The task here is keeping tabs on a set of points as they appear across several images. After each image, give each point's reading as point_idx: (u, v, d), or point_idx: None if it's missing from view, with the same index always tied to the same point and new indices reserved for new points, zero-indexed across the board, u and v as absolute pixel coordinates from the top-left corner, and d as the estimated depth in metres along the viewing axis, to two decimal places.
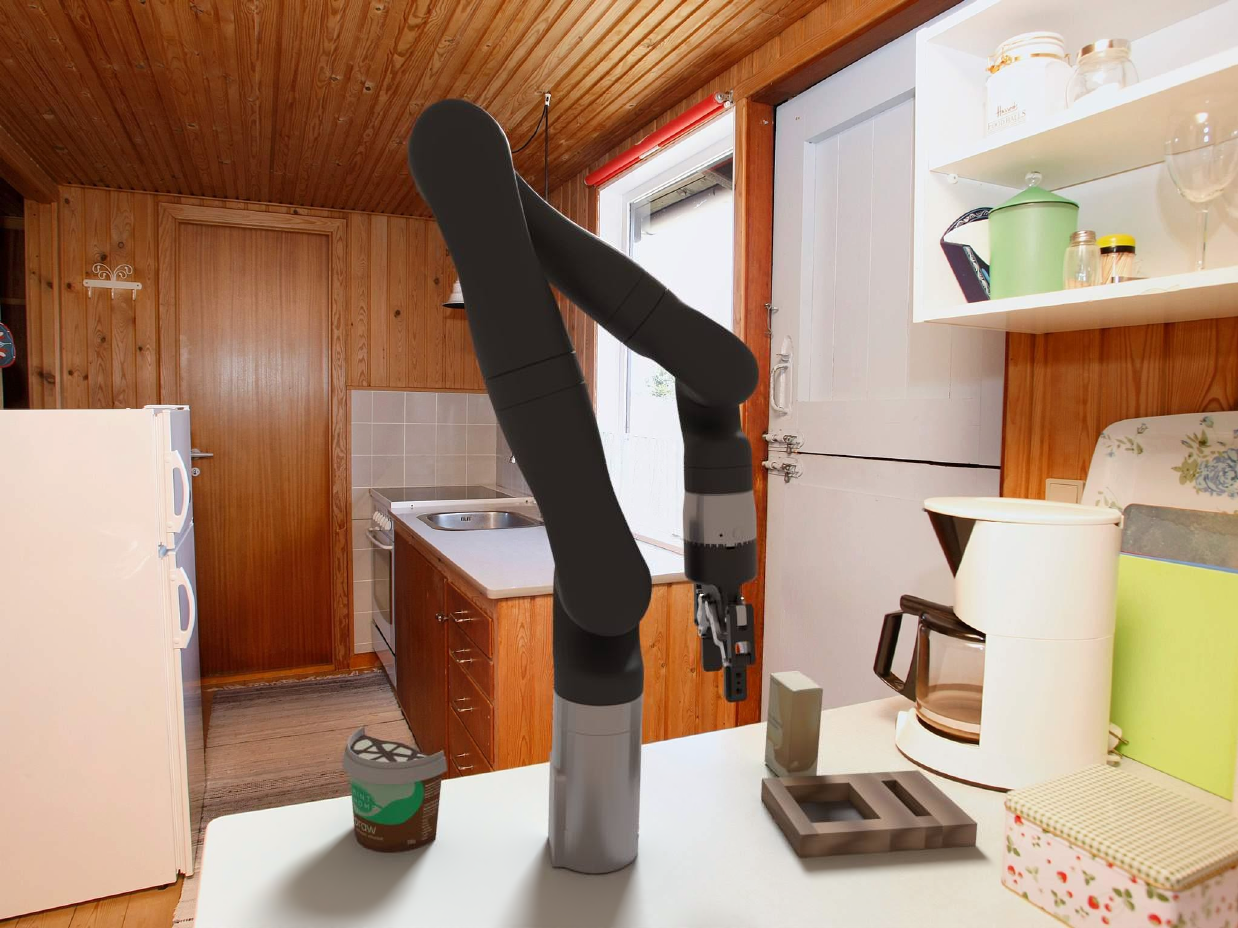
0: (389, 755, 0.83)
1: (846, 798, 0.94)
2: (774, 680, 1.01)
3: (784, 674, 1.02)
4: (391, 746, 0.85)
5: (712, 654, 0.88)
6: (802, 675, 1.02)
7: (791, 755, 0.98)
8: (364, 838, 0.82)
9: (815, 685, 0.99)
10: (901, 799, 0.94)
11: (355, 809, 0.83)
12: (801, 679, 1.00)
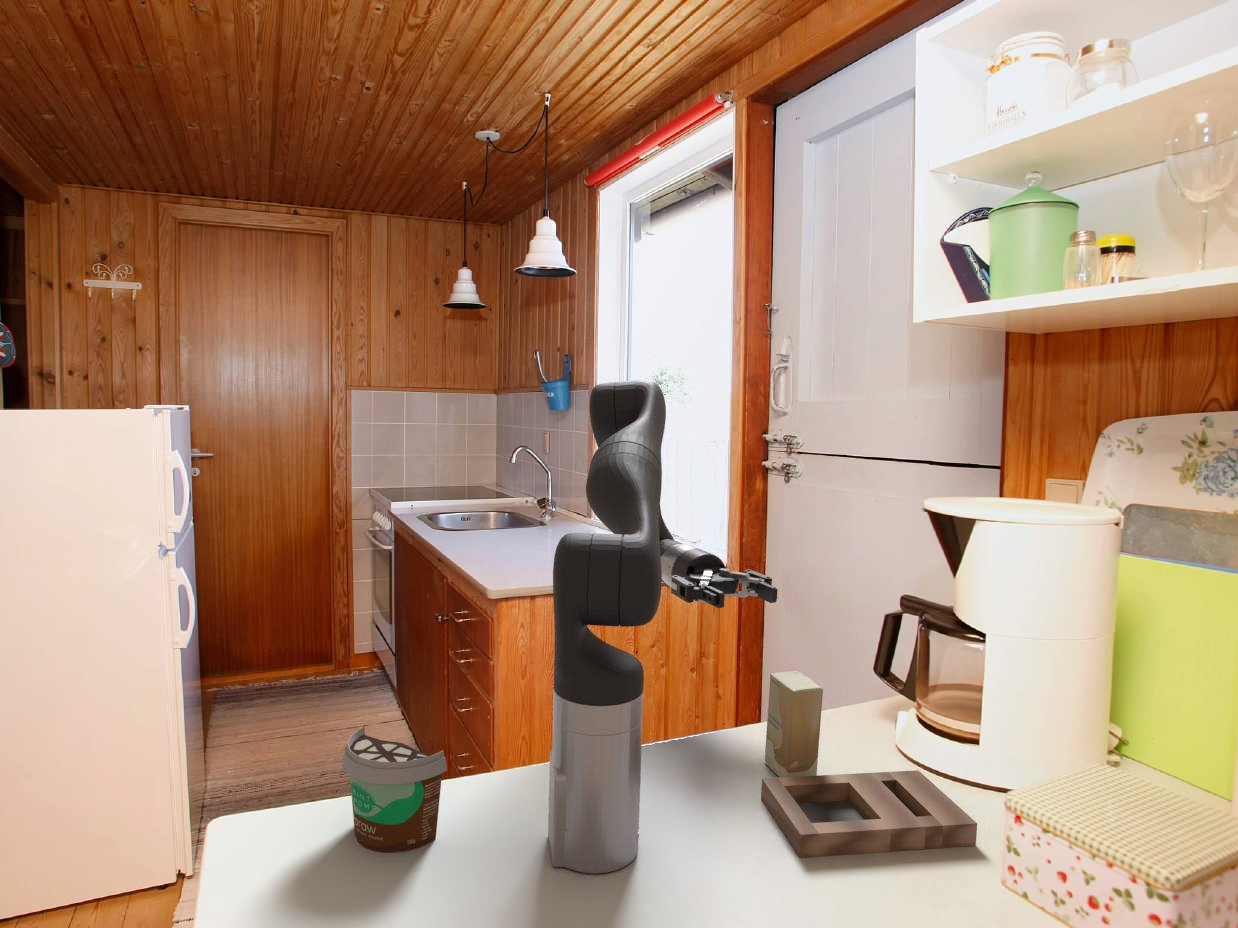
0: (389, 755, 0.83)
1: (846, 798, 0.94)
2: (774, 680, 1.01)
3: (784, 674, 1.02)
4: (391, 746, 0.85)
5: None
6: (802, 675, 1.02)
7: (792, 755, 0.98)
8: (364, 838, 0.82)
9: (815, 685, 0.99)
10: (901, 799, 0.94)
11: (355, 809, 0.83)
12: (801, 679, 1.00)
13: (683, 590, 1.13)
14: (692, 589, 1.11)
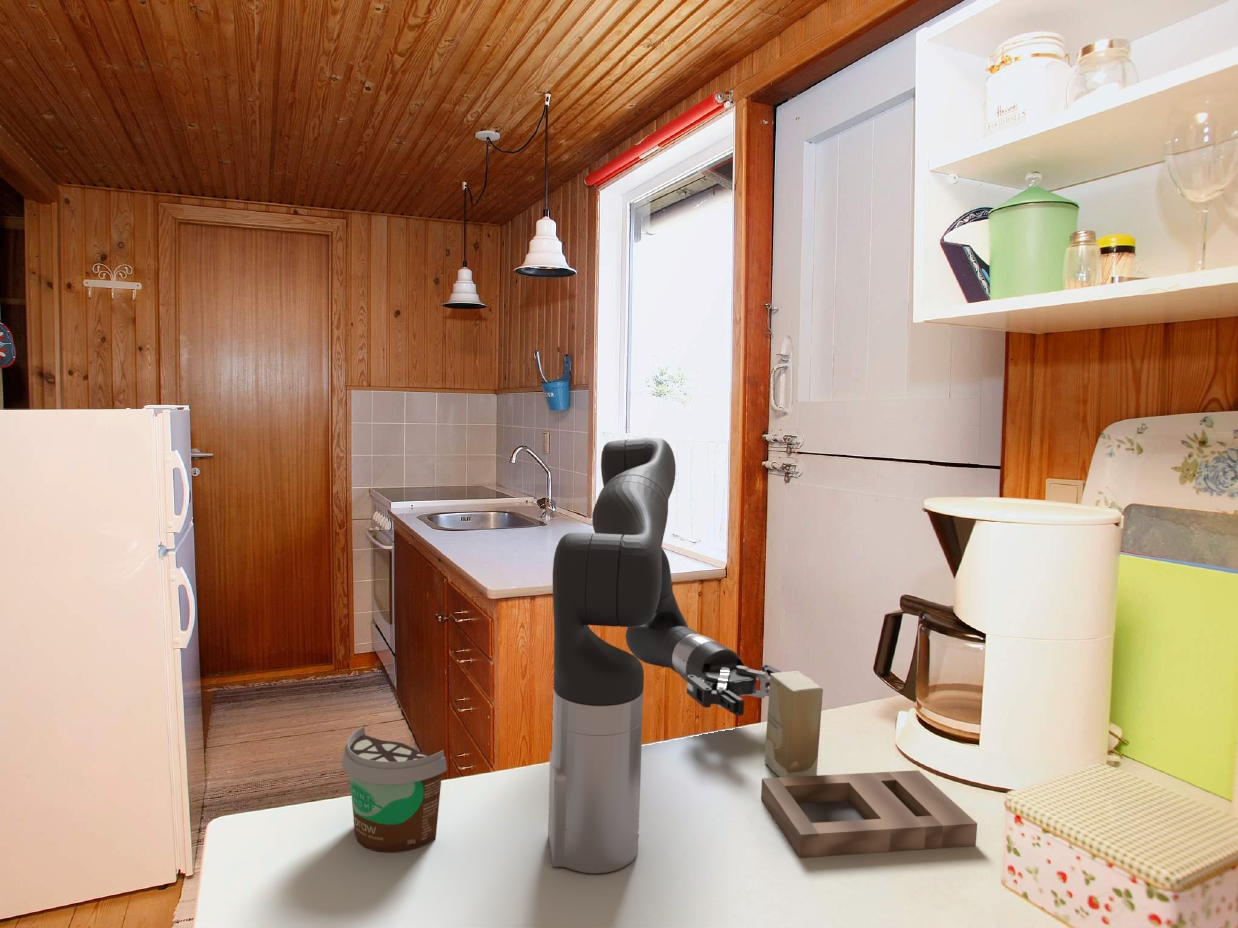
0: (389, 755, 0.83)
1: (846, 798, 0.94)
2: (774, 680, 1.01)
3: (784, 674, 1.02)
4: (391, 746, 0.85)
5: None
6: (802, 675, 1.02)
7: (792, 755, 0.98)
8: (364, 838, 0.82)
9: (815, 685, 0.99)
10: (901, 799, 0.94)
11: (355, 809, 0.83)
12: (801, 679, 1.00)
13: (700, 692, 1.09)
14: (710, 693, 1.07)
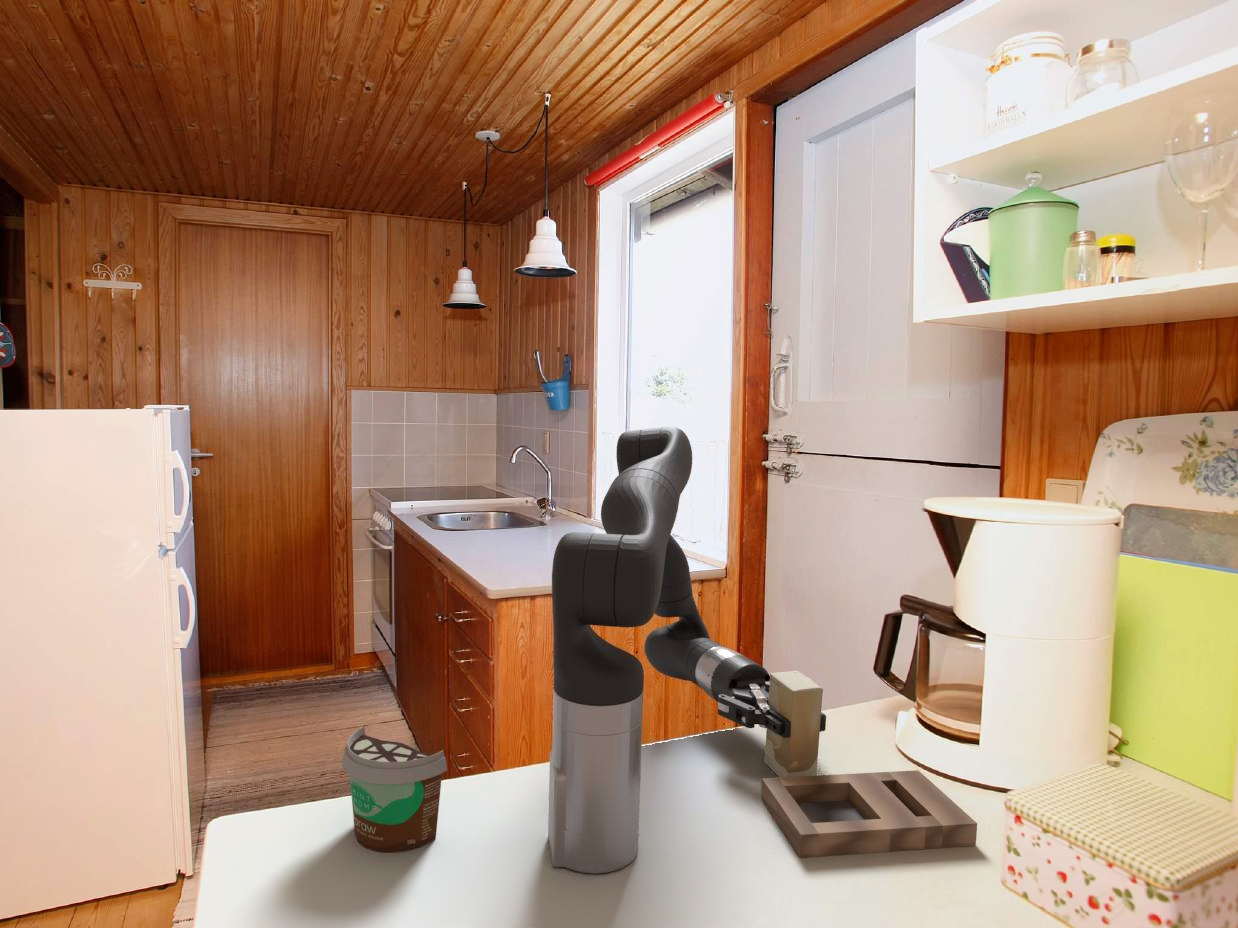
0: (389, 755, 0.83)
1: (846, 798, 0.94)
2: (774, 680, 1.01)
3: (784, 674, 1.02)
4: (391, 746, 0.85)
5: None
6: (802, 675, 1.02)
7: (791, 754, 0.98)
8: (364, 838, 0.82)
9: (815, 685, 0.99)
10: (901, 799, 0.94)
11: (355, 809, 0.83)
12: (801, 679, 1.00)
13: (738, 713, 1.02)
14: (753, 713, 1.00)
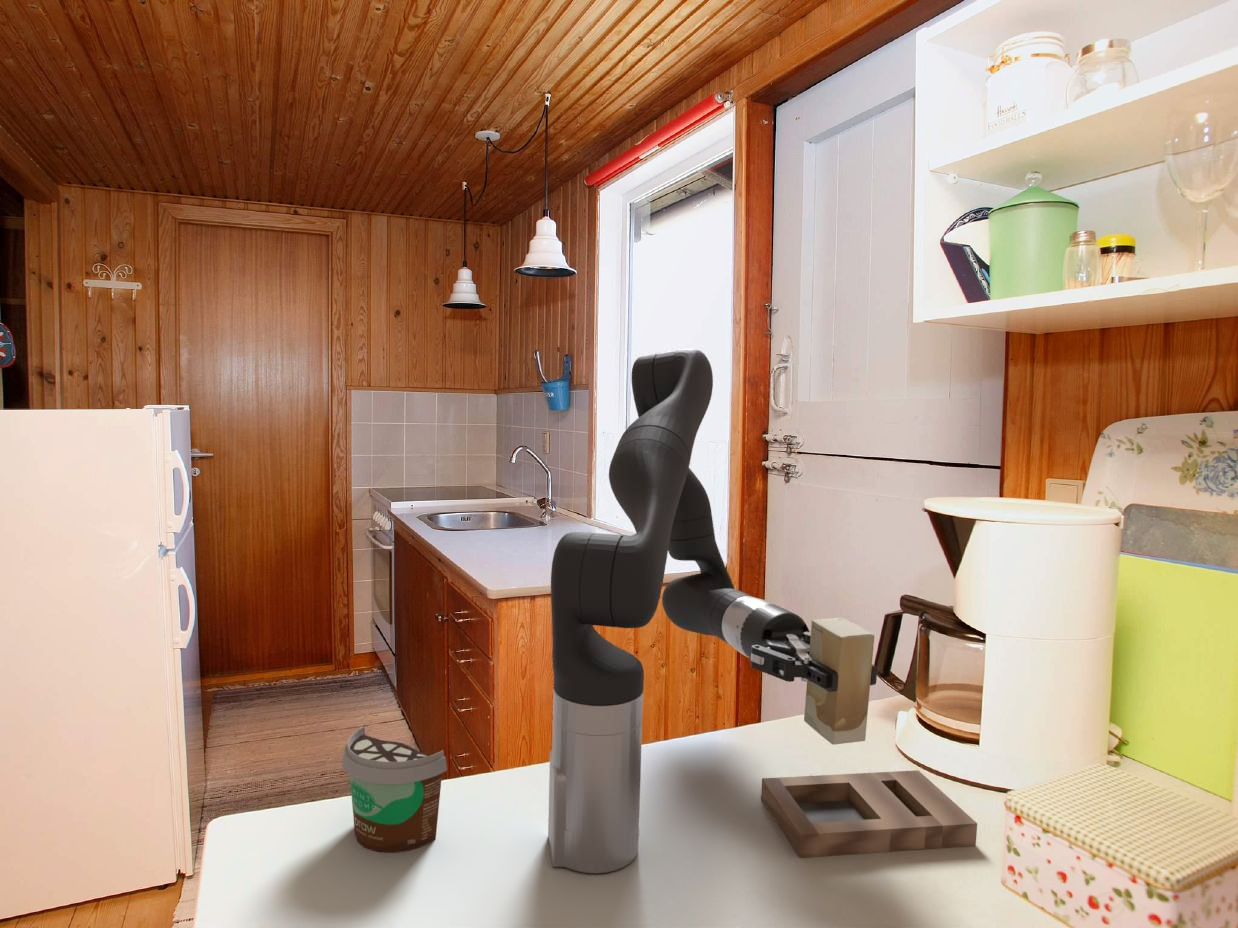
0: (389, 755, 0.83)
1: (846, 798, 0.94)
2: (817, 627, 0.88)
3: (828, 621, 0.89)
4: (391, 746, 0.85)
5: None
6: (848, 622, 0.89)
7: (838, 711, 0.85)
8: (364, 838, 0.82)
9: (865, 631, 0.86)
10: (901, 799, 0.94)
11: (355, 809, 0.83)
12: (848, 625, 0.87)
13: (775, 665, 0.90)
14: (793, 665, 0.87)
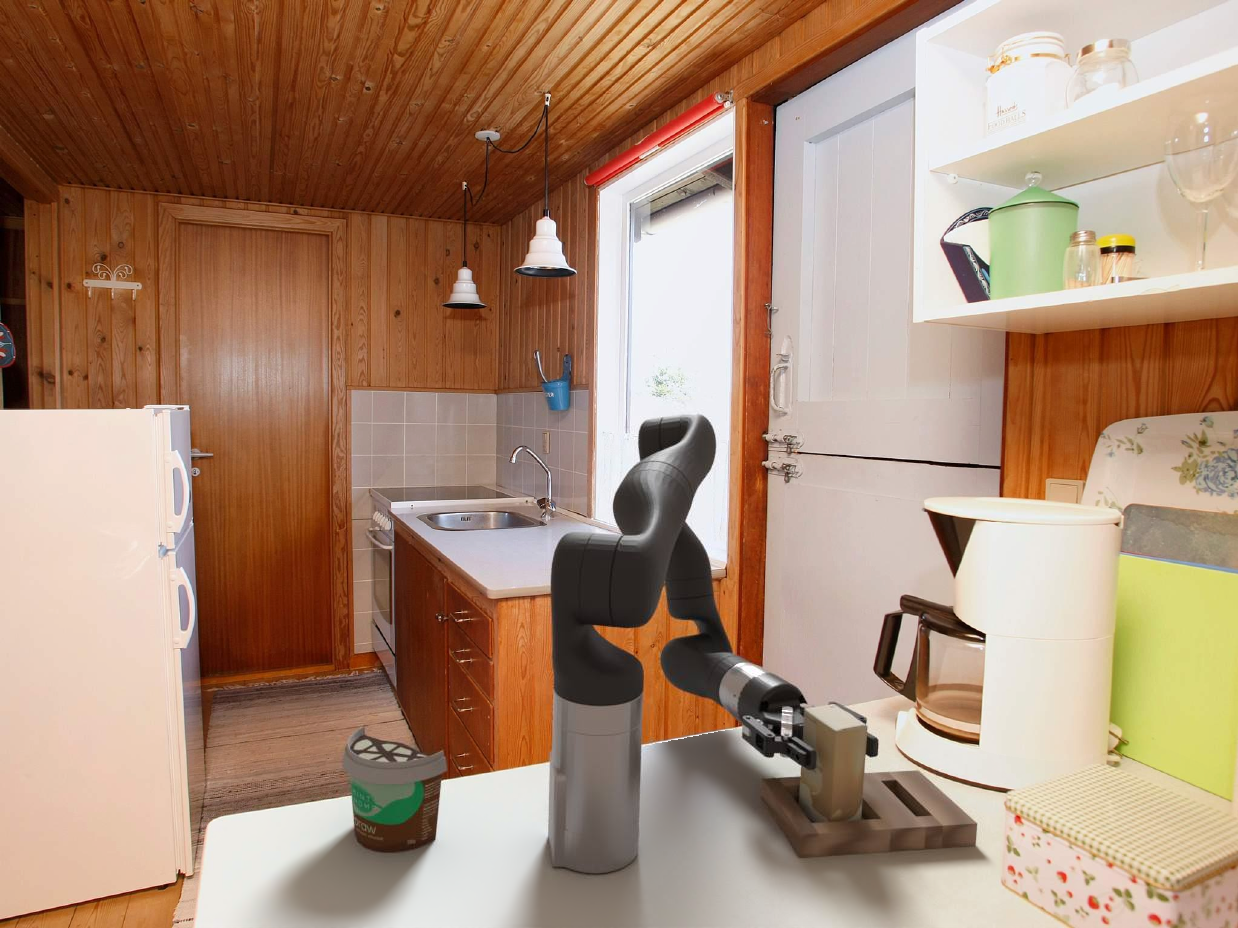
0: (389, 755, 0.83)
1: None
2: (810, 717, 0.89)
3: (820, 709, 0.90)
4: (391, 746, 0.85)
5: None
6: (840, 709, 0.90)
7: (834, 802, 0.86)
8: (364, 838, 0.82)
9: (858, 722, 0.87)
10: (901, 799, 0.94)
11: (355, 809, 0.83)
12: (841, 715, 0.88)
13: (759, 738, 0.91)
14: (773, 741, 0.88)
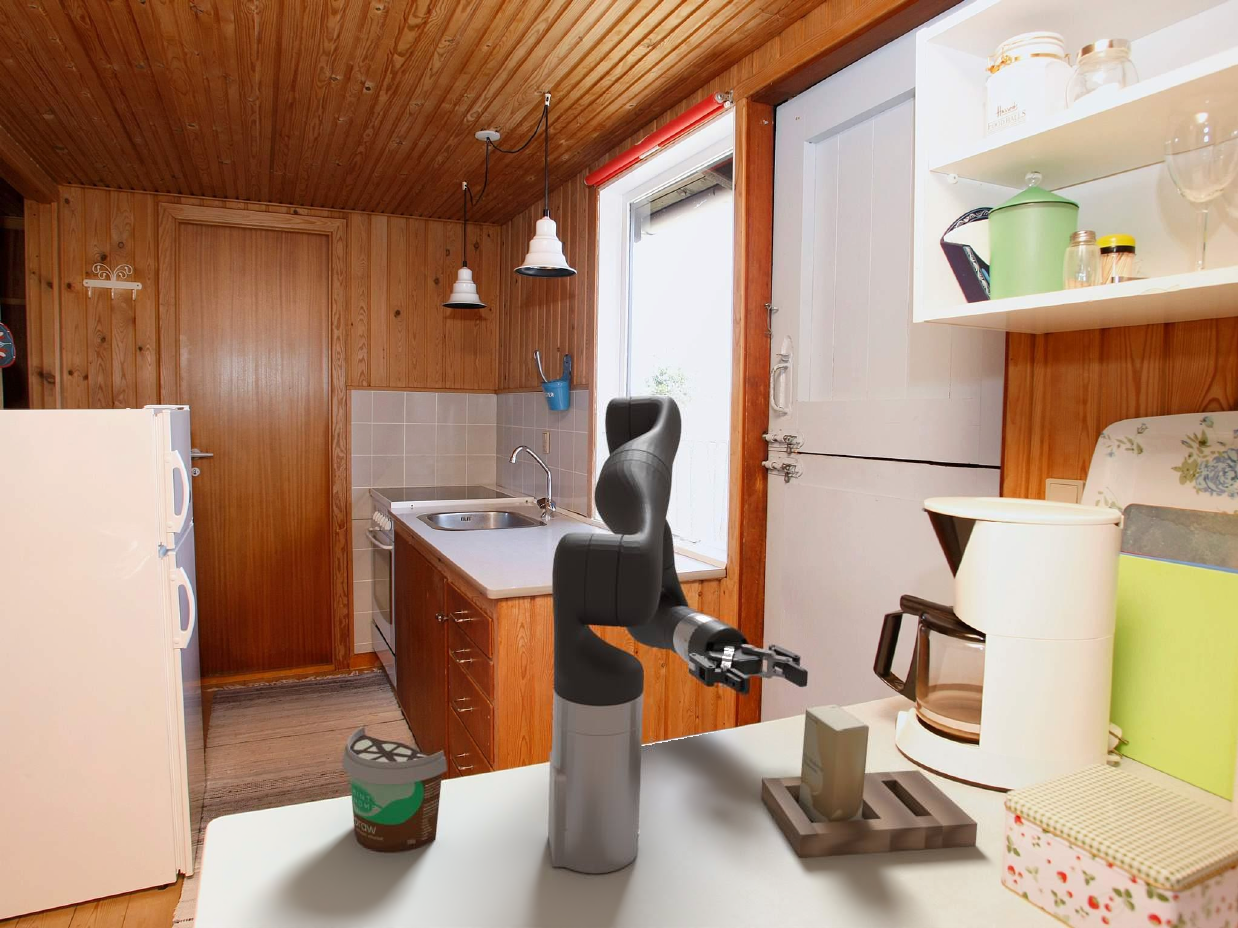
0: (389, 755, 0.83)
1: None
2: (811, 717, 0.89)
3: (822, 709, 0.90)
4: (391, 746, 0.85)
5: None
6: (842, 710, 0.90)
7: (835, 802, 0.86)
8: (364, 838, 0.82)
9: (859, 722, 0.87)
10: (901, 799, 0.94)
11: (355, 809, 0.83)
12: (842, 715, 0.88)
13: (702, 671, 1.02)
14: (713, 672, 0.99)
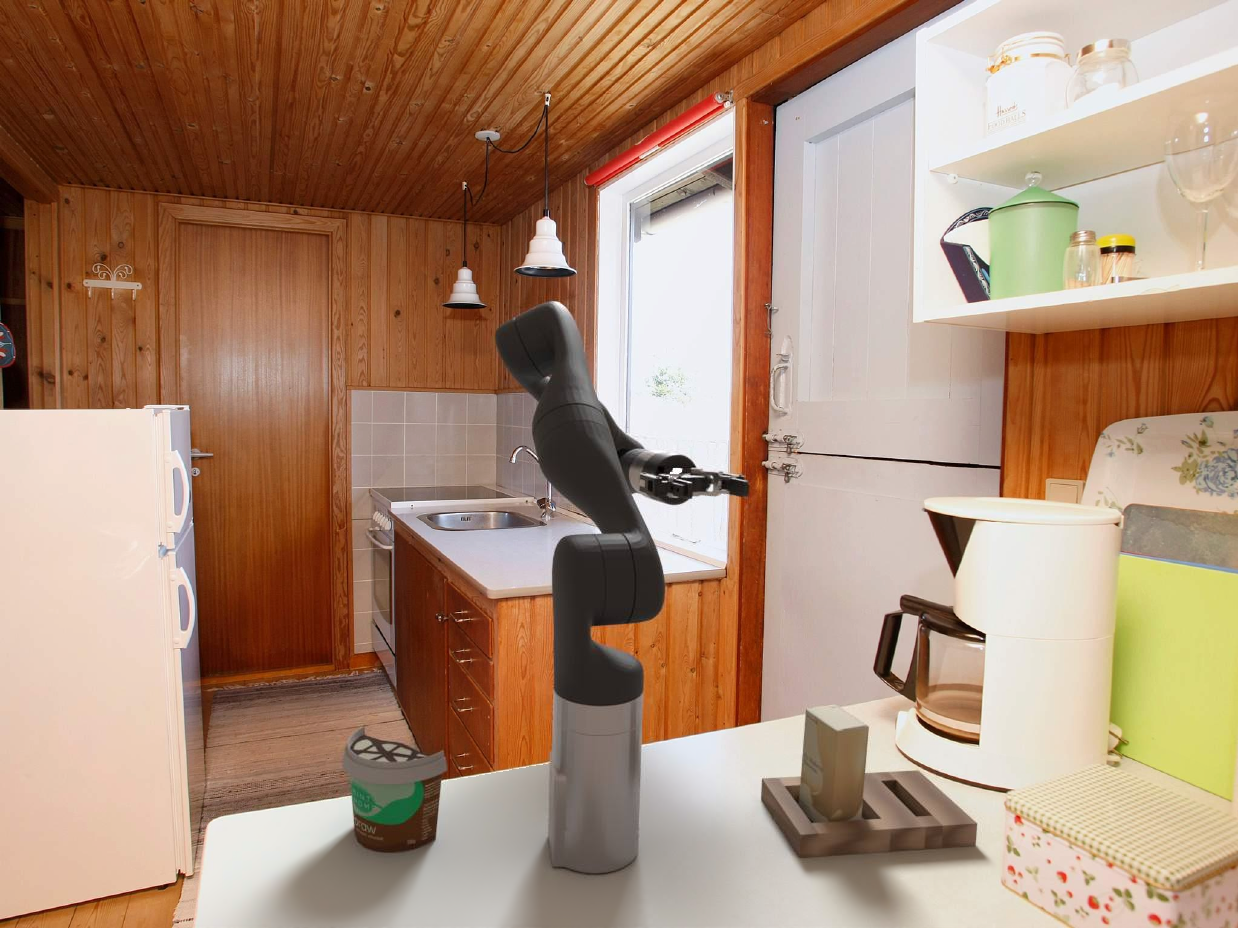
0: (389, 755, 0.83)
1: None
2: (812, 717, 0.89)
3: (822, 709, 0.90)
4: (391, 746, 0.85)
5: None
6: (842, 710, 0.90)
7: (835, 803, 0.86)
8: (364, 838, 0.82)
9: (859, 722, 0.87)
10: (901, 799, 0.94)
11: (355, 809, 0.83)
12: (842, 715, 0.88)
13: (651, 486, 1.08)
14: (660, 482, 1.06)
